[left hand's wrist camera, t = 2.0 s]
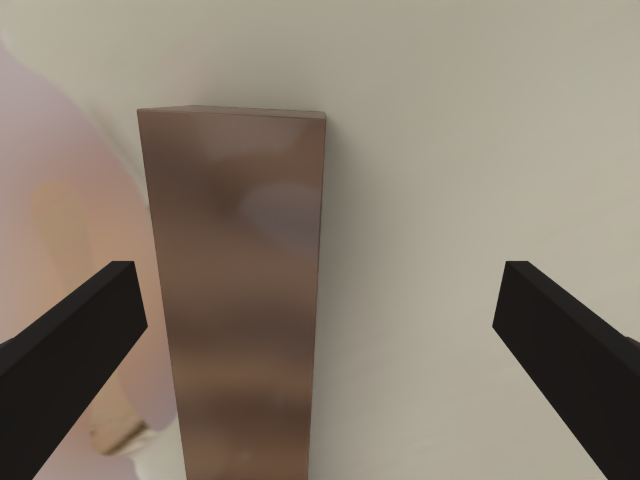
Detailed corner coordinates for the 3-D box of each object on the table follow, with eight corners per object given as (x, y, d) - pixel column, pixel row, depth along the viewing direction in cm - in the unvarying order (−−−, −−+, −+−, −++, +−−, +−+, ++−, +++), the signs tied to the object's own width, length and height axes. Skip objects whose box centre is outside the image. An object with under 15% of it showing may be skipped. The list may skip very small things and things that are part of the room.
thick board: (191, 105, 24) (135, 109, 16) (324, 111, 24) (326, 118, 17) (230, 578, 44) (212, 671, 37) (301, 581, 44) (297, 674, 37)
